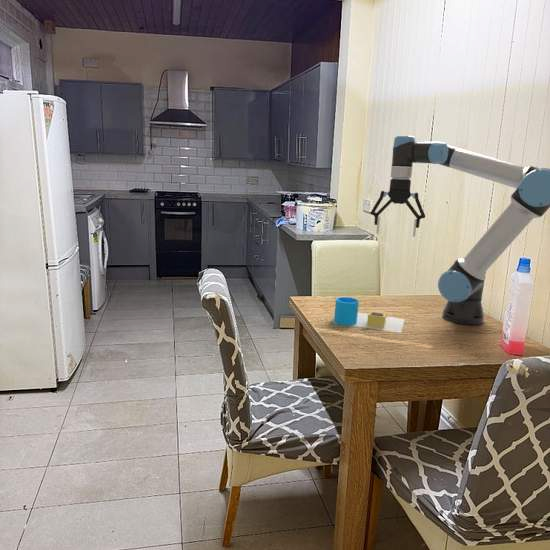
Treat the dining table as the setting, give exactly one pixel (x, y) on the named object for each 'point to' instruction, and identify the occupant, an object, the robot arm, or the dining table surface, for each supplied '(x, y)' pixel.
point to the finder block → (376, 319)
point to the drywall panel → (390, 325)
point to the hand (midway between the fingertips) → (395, 235)
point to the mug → (346, 311)
